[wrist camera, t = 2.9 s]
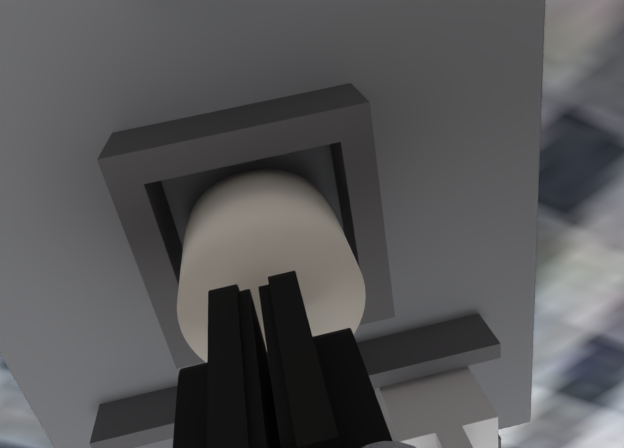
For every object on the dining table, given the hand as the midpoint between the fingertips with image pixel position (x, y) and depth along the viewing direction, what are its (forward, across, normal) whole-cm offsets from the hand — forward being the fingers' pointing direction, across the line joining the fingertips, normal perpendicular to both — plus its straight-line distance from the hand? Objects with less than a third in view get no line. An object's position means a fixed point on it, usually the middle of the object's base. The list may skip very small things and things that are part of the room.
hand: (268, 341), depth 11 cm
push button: (+4, 0, 0) cm, 4 cm away
